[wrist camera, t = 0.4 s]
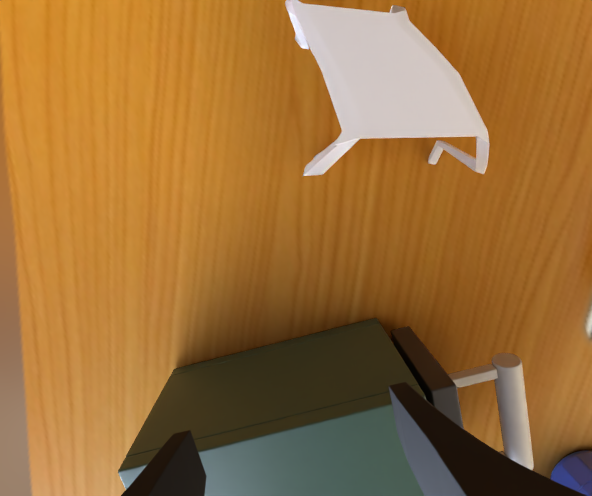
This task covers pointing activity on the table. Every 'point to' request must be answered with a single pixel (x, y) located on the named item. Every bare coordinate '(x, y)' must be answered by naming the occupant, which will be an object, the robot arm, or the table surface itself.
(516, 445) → the drawer
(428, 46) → the origami figure
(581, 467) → the blue cup
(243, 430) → the sage green box
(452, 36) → the table surface
